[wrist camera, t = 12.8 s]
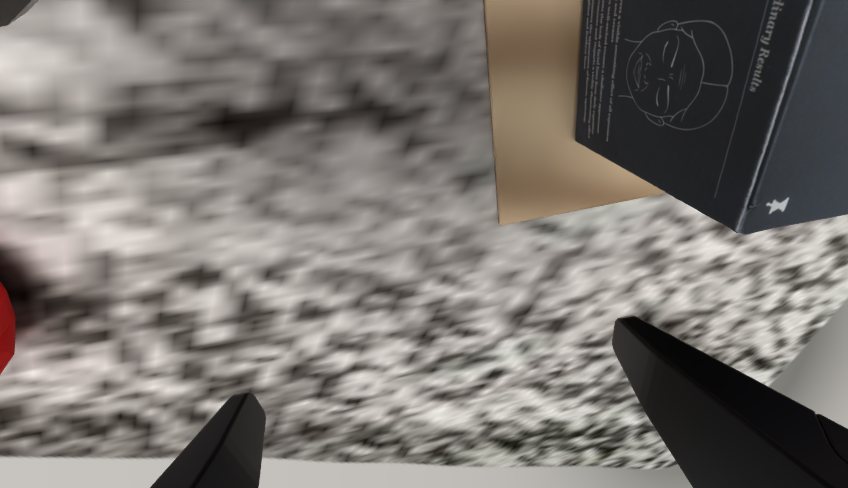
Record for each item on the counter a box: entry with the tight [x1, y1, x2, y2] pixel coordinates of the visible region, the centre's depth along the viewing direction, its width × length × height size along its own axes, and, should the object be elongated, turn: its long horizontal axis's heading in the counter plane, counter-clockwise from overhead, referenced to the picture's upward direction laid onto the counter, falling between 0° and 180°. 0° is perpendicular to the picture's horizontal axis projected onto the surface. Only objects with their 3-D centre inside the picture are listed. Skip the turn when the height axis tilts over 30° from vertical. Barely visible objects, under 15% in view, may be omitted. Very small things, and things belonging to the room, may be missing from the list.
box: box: [575, 0, 848, 234], centre depth 13 cm, size 8×6×11 cm
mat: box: [484, 0, 666, 226], centre depth 18 cm, size 16×12×1 cm
